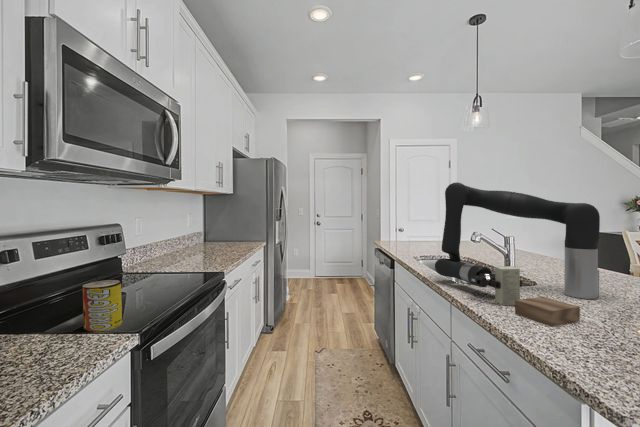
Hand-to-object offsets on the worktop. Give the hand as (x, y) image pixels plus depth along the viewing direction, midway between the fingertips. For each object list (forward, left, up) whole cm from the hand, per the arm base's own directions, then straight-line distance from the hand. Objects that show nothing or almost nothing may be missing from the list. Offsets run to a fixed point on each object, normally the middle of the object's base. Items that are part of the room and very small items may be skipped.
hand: (510, 284), depth 106 cm
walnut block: (0, +13, -7) cm, 14 cm away
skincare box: (0, -1, -7) cm, 7 cm away
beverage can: (+124, -16, -7) cm, 125 cm away
